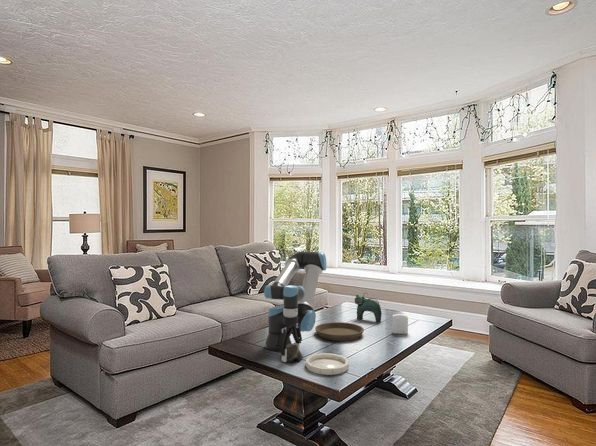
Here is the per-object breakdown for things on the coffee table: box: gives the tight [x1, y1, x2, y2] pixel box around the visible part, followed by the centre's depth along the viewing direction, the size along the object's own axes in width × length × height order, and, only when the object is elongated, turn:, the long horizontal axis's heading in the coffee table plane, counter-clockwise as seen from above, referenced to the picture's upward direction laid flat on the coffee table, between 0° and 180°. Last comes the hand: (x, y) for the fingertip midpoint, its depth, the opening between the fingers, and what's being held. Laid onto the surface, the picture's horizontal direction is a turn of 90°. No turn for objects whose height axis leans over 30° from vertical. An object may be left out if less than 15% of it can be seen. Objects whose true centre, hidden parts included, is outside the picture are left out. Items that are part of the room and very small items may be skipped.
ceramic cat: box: [354, 292, 382, 323], centre depth 275 cm, size 20×6×20 cm, turn 55°
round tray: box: [305, 352, 350, 376], centre depth 186 cm, size 21×21×3 cm
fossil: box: [280, 342, 304, 364], centre depth 195 cm, size 11×9×10 cm
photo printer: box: [391, 313, 409, 335], centre depth 242 cm, size 10×4×12 cm, turn 84°
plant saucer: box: [314, 321, 365, 342], centre depth 239 cm, size 31×31×5 cm
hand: (290, 358), depth 195 cm, fingers closed on fossil, 10 cm apart
